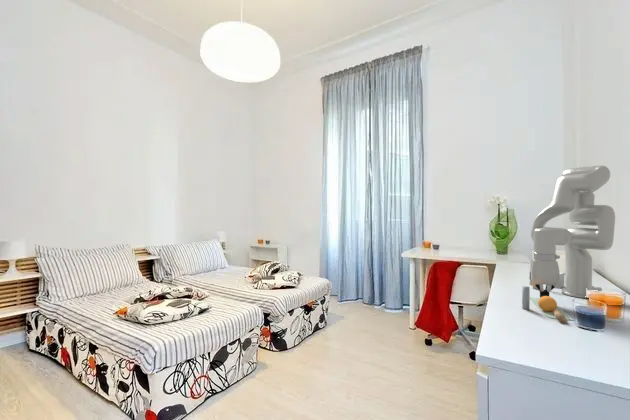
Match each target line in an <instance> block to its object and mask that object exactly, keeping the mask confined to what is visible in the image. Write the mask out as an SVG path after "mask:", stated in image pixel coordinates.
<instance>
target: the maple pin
mask: <svg viewBox="0 0 630 420" xmlns="http://www.w3.org/2000/svg"><path fill="white" fill-rule="evenodd" d="M553 314H554V315H555V317H556V318H557V319H556V320H557V321H558V322H559V323H560V324H566V323H567V321H568V320H567V319H566V318H565V317H564V316H563V314H562V313H561V312H560V311H559V310H557V309H555V310H553Z"/></svg>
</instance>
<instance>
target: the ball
mask: <svg viewBox="0 0 630 420" xmlns="http://www.w3.org/2000/svg"><path fill="white" fill-rule="evenodd" d="M539 298H540V297H539ZM538 305H539V307H540V308H541V309H542V310H544V311H547V312H552V311H553V310H555V309H556V308H557V306H558V303H557V301H556V300H555V298H553V297H551V296H550V295H549V296H543V297H541V298H540V299H539V300H538Z"/></svg>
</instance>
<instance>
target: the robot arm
mask: <svg viewBox="0 0 630 420" xmlns="http://www.w3.org/2000/svg"><path fill="white" fill-rule="evenodd" d="M610 177H611V171H610V169H609V168H608V167H607V165H606V166H605V165H592V166H590V165H589V166H582V167H581V166H579V167H571V168H568V169H566V170H563V172H562V174H561V176H559V177H558V178H557V179H556V182H555V186H554V190H553V192H552V197H551V201H550V203H549V205H548V206H547V207H545V208H544V209H543V210H542V211H540V213H539V214H538V215H537V216H536V217H535V218H534V220H533V223H532V227H531V231H530V238H531V240H532V242H533V259H531V260H530V264H529V265H530V266H529V277H528V279H529V286H531V287H533V286H535V287H537V288H538V289H539V290H538V289H537V290H538V291H539V298H541V297H543V296H549V297H550V292H552V290H554V289H561V288H560V272H561V271H560V266H559V262H558V261H557V260H559V259H561V257H560V255H557V253H556V250H557V249H556V246H564V252H565V272H564V287H565V288H564V289H561V294H562V295H565V296H569V297H575V298H582V299H586V298H585V296H586V288H587V289H588V290H598V291H597V292H602V291H603V288H602V287H601V286H597V287H596V286H594V285H593V258H592V255H591V253H590V252H588V250H597V251H607V250H610V249H611V248H612V247H613V244H614V237H615V236H614V235H615V224H616V212H615V210H614V208H613V207H612V206H609V205H608V204H607V205H605V204H595V196H596V195H595V194H594V192H596V191H598V190H599V189H601V188H602V187H604V186H605V185H606V184H607V183H608V182H609V180H610ZM568 213H569V216H568V219H569V221H570V223H571V224H573V225H577V226H589V227H570V228H563V227H550V226H549V227H547V226H546V224H547V223H548V222H549V221H551V220H552V219H554V218H556V217H557V218H558V217H559V216H563V215H565V214H568ZM590 226H592V227H593V226H595V227H597V228H590ZM544 285H545V288H544Z"/></svg>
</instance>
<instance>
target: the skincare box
mask: <svg viewBox="0 0 630 420" xmlns="http://www.w3.org/2000/svg"><path fill="white" fill-rule="evenodd" d="M559 272H560V288H559V289H561V288H564V287H565V272H561V271H559Z"/></svg>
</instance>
